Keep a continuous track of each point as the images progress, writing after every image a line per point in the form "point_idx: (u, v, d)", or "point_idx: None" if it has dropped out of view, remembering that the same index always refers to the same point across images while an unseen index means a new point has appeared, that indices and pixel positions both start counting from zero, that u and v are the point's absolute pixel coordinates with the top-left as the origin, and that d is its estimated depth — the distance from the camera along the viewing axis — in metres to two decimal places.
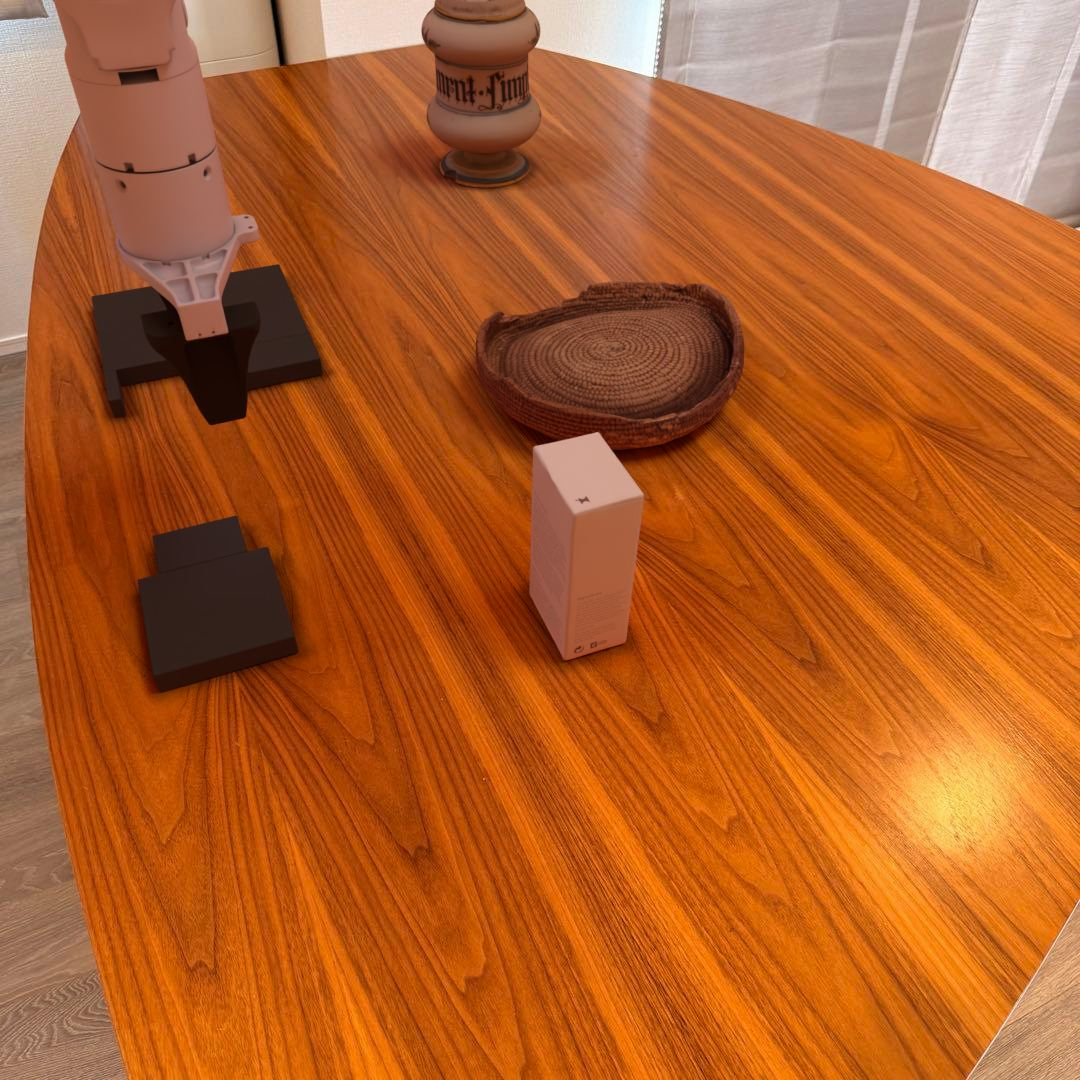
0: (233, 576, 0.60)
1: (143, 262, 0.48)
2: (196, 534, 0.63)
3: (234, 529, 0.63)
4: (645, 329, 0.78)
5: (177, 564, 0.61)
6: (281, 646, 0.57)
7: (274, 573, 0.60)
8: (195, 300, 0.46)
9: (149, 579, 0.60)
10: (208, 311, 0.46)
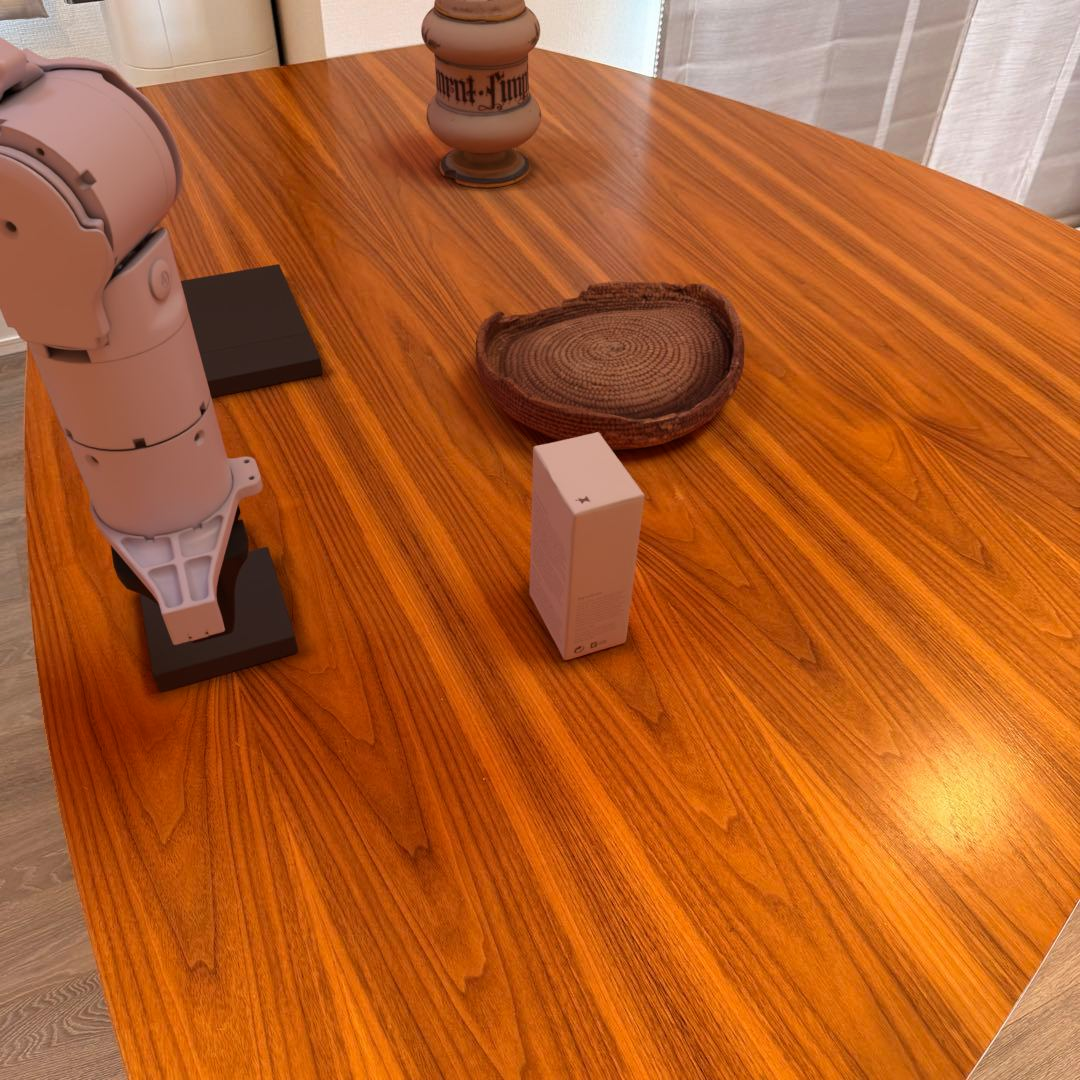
0: None
1: (122, 538, 0.40)
2: None
3: None
4: (645, 329, 0.78)
5: None
6: (281, 646, 0.57)
7: (274, 573, 0.60)
8: (184, 603, 0.37)
9: None
10: (200, 614, 0.37)
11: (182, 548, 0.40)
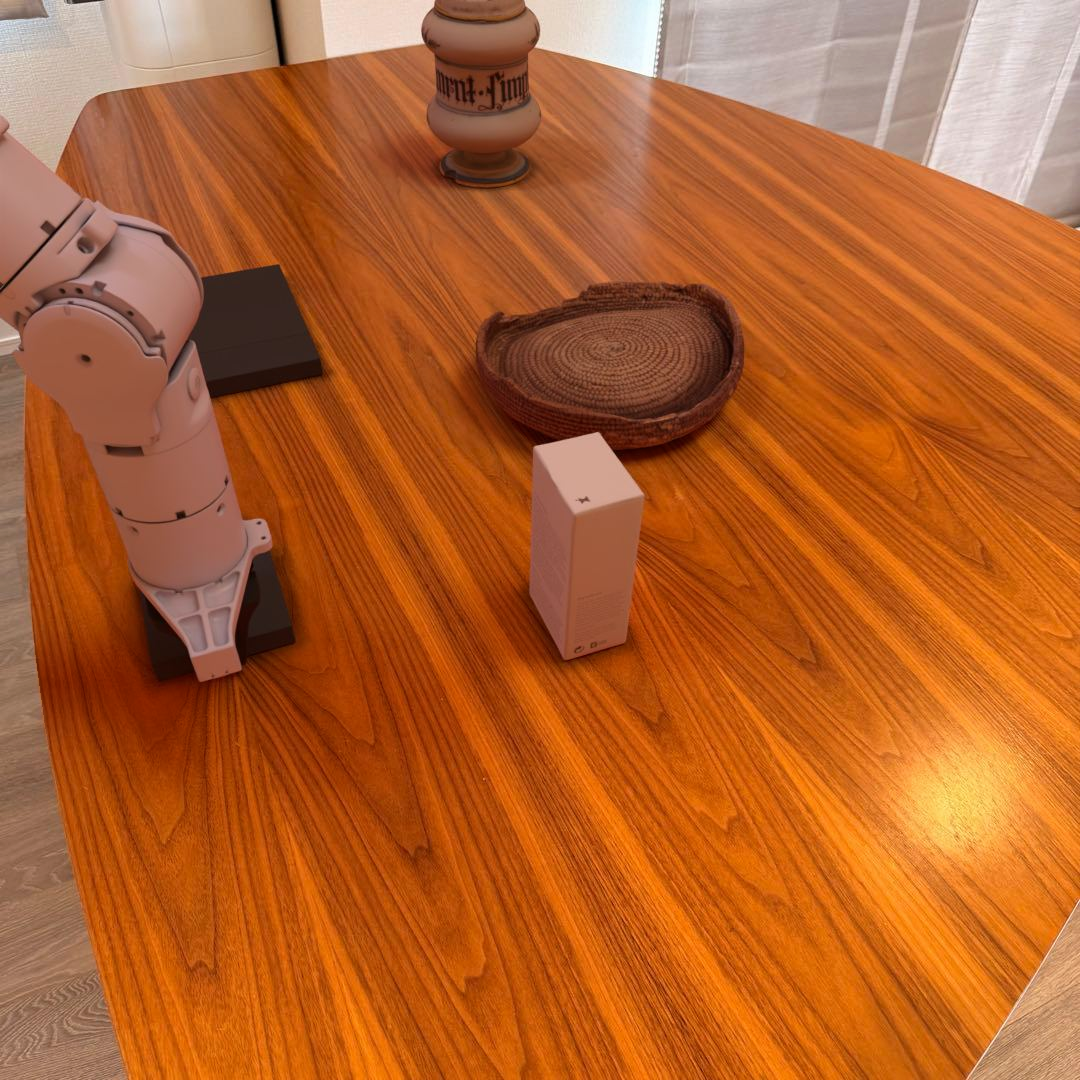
0: None
1: (156, 591, 0.47)
2: None
3: None
4: (645, 329, 0.78)
5: None
6: (278, 635, 0.57)
7: (272, 564, 0.61)
8: (208, 648, 0.45)
9: None
10: (221, 656, 0.45)
11: (206, 600, 0.47)
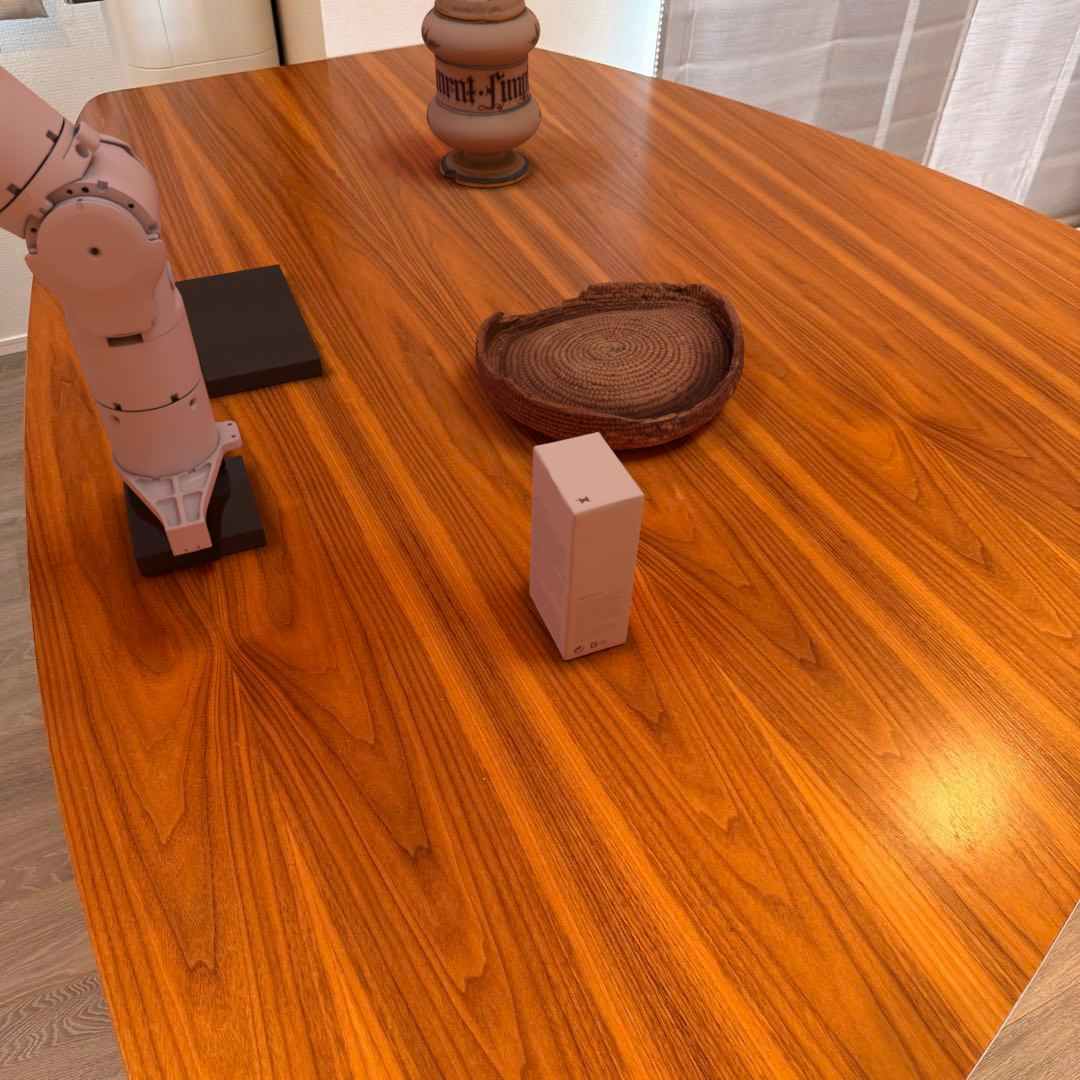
0: None
1: (136, 479, 0.53)
2: None
3: None
4: (645, 329, 0.78)
5: None
6: (251, 536, 0.63)
7: (246, 476, 0.67)
8: (181, 523, 0.51)
9: None
10: (193, 532, 0.51)
11: (180, 486, 0.53)
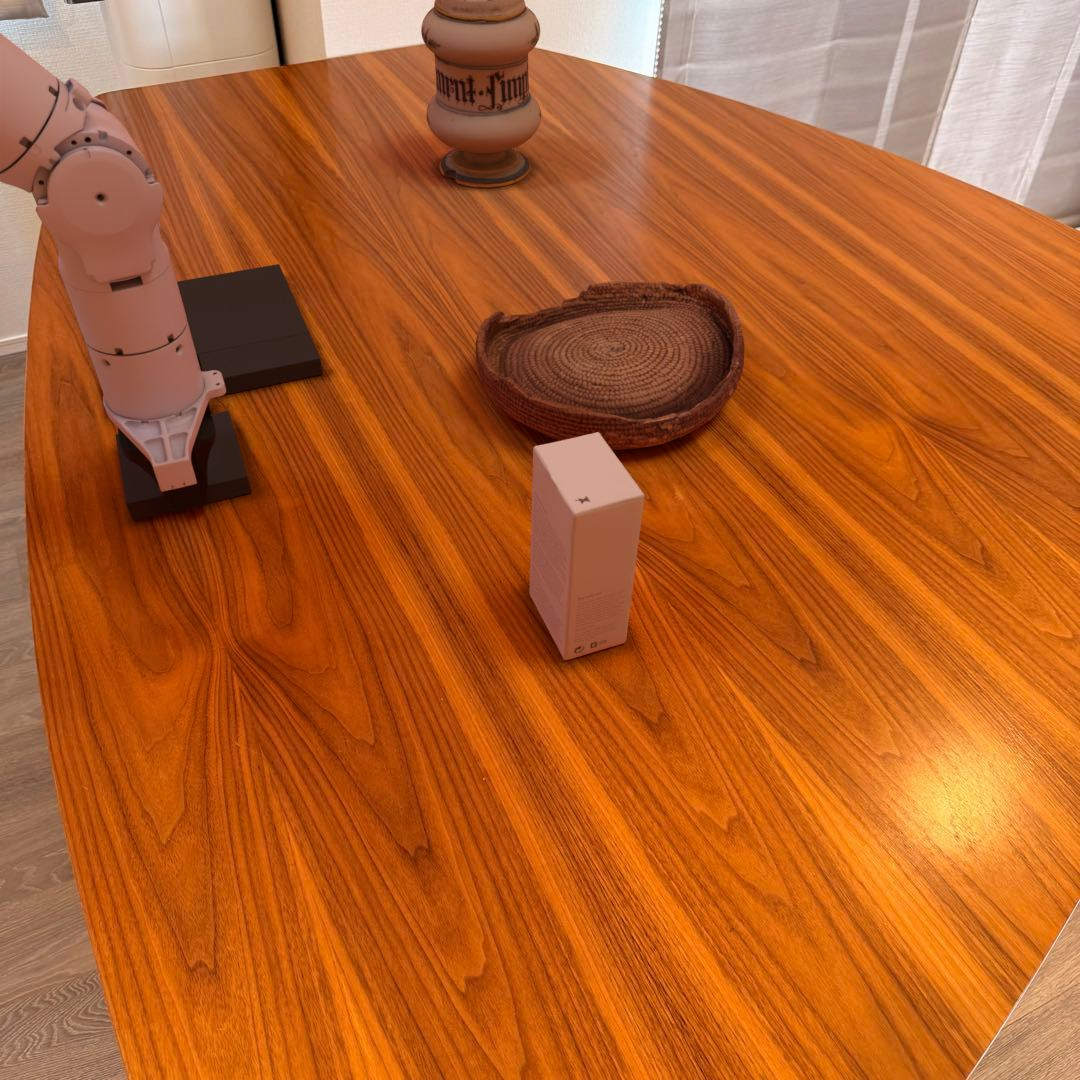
0: None
1: (126, 421, 0.57)
2: None
3: None
4: (645, 329, 0.78)
5: None
6: (236, 484, 0.67)
7: (232, 430, 0.70)
8: (168, 460, 0.54)
9: None
10: (179, 468, 0.55)
11: (167, 428, 0.57)
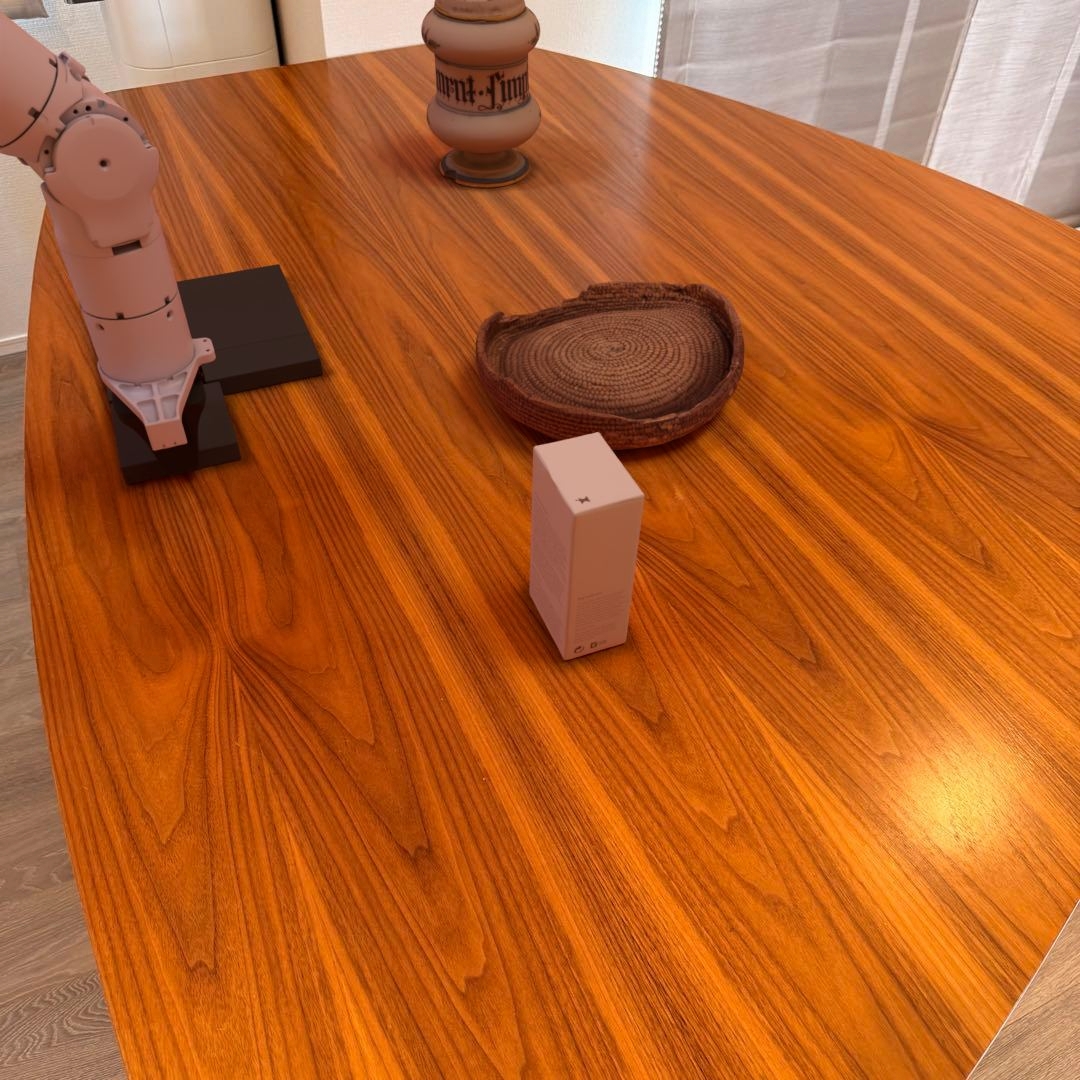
0: None
1: (119, 384, 0.59)
2: None
3: None
4: (645, 329, 0.78)
5: None
6: (226, 450, 0.69)
7: (223, 399, 0.73)
8: (159, 420, 0.57)
9: None
10: (170, 428, 0.57)
11: (159, 391, 0.59)
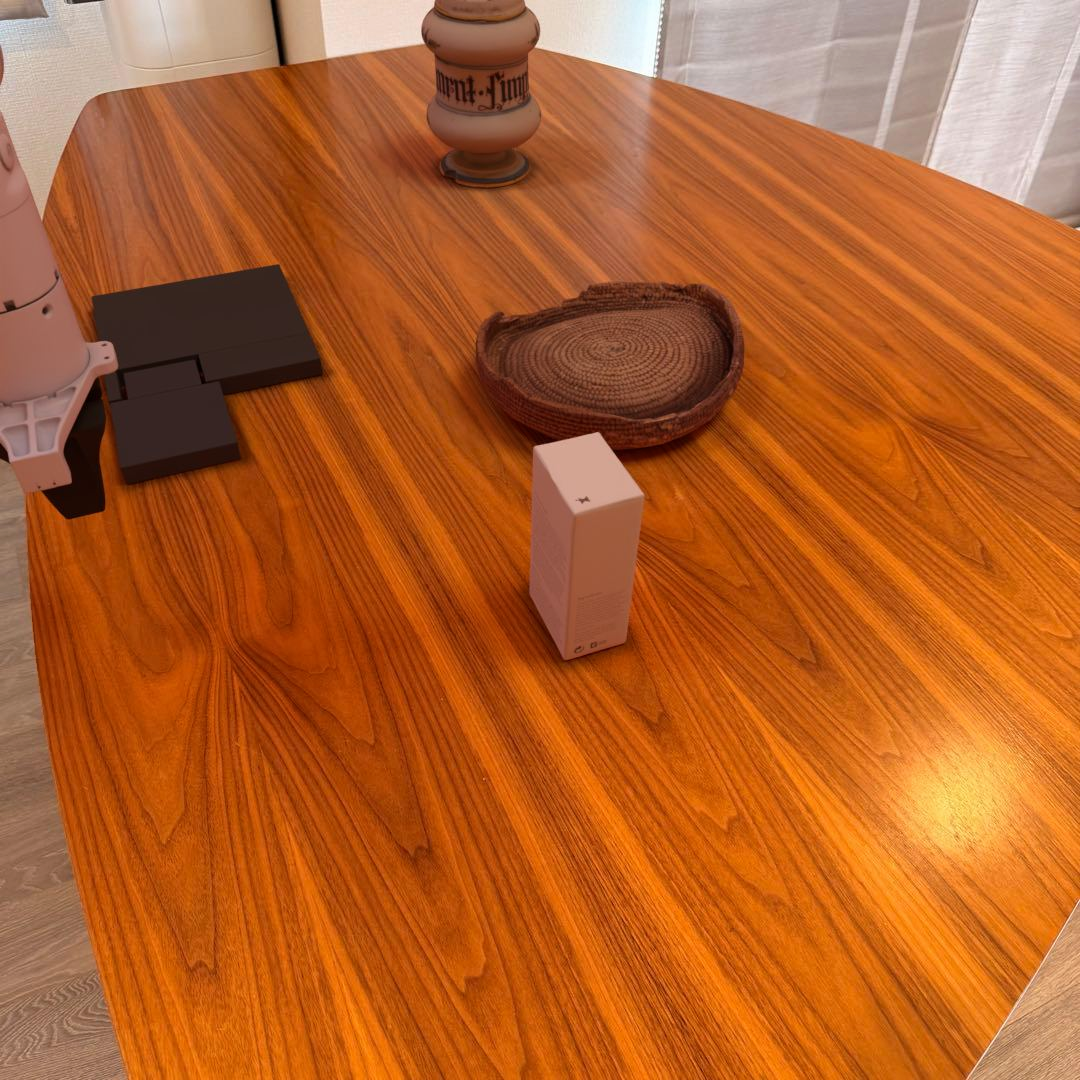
0: (189, 401, 0.72)
1: None
2: (160, 372, 0.75)
3: (192, 369, 0.76)
4: (645, 329, 0.78)
5: (143, 393, 0.73)
6: (226, 450, 0.69)
7: (223, 399, 0.73)
8: (30, 453, 0.42)
9: (119, 403, 0.72)
10: (45, 464, 0.42)
11: (36, 412, 0.44)
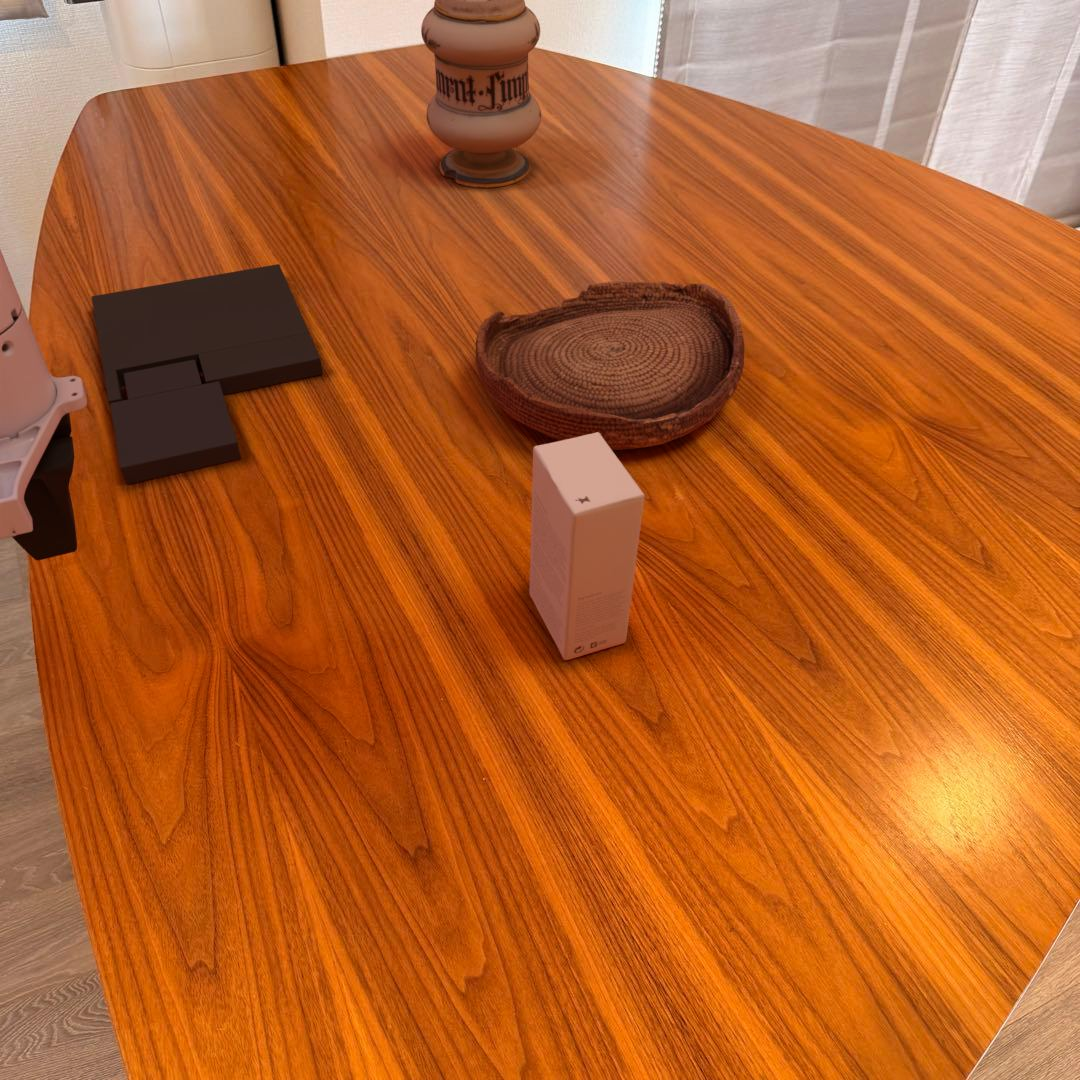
0: (189, 401, 0.72)
1: None
2: (160, 372, 0.75)
3: (192, 369, 0.76)
4: (645, 329, 0.78)
5: (143, 393, 0.73)
6: (226, 450, 0.69)
7: (223, 399, 0.73)
8: None
9: (119, 403, 0.72)
10: (4, 512, 0.40)
11: None
